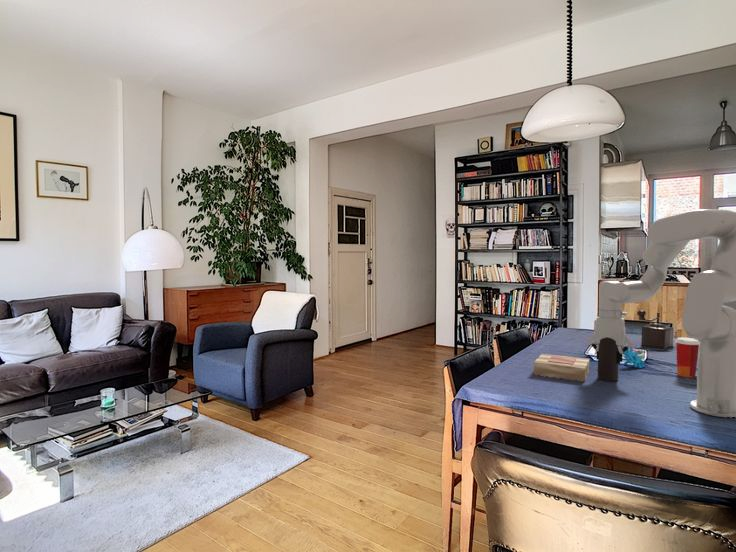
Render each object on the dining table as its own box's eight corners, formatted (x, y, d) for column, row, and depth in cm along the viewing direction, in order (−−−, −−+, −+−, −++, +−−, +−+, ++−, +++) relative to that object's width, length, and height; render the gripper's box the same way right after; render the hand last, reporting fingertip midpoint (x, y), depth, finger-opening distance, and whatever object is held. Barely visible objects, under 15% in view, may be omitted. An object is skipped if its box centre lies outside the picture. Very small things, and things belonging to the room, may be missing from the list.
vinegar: (613, 376, 171) (614, 324, 169) (621, 381, 164) (622, 327, 163) (594, 376, 171) (595, 324, 170) (602, 381, 165) (602, 327, 163)
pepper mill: (649, 342, 230) (650, 307, 229) (673, 346, 221) (674, 309, 220) (633, 346, 222) (634, 310, 221) (658, 350, 213) (659, 312, 211)
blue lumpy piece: (634, 366, 178) (620, 345, 185) (623, 374, 182) (609, 353, 189) (652, 367, 183) (637, 346, 189) (641, 374, 187) (627, 354, 193)
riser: (584, 381, 165) (585, 367, 164) (533, 374, 174) (533, 361, 174) (589, 371, 178) (589, 358, 178) (541, 365, 188) (542, 352, 187)
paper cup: (693, 373, 174) (694, 337, 173) (702, 378, 167) (703, 341, 166) (670, 372, 176) (671, 336, 175) (678, 377, 169) (679, 340, 168)
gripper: (637, 314, 165) (636, 363, 166) (585, 311, 174) (585, 357, 175) (636, 317, 158) (635, 367, 159) (583, 314, 167) (582, 361, 168)
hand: (609, 362), depth 167 cm, fingers closed on vinegar, 5 cm apart
